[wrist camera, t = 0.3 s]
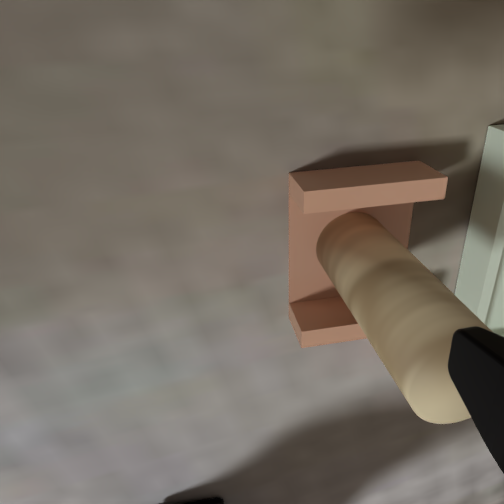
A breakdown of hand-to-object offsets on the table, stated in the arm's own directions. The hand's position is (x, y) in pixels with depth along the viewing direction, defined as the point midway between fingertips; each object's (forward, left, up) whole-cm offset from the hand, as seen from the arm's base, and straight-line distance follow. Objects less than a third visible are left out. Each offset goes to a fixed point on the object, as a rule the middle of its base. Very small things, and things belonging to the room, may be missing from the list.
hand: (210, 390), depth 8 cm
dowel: (-5, -8, -14) cm, 17 cm away
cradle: (-5, -8, -14) cm, 17 cm away
